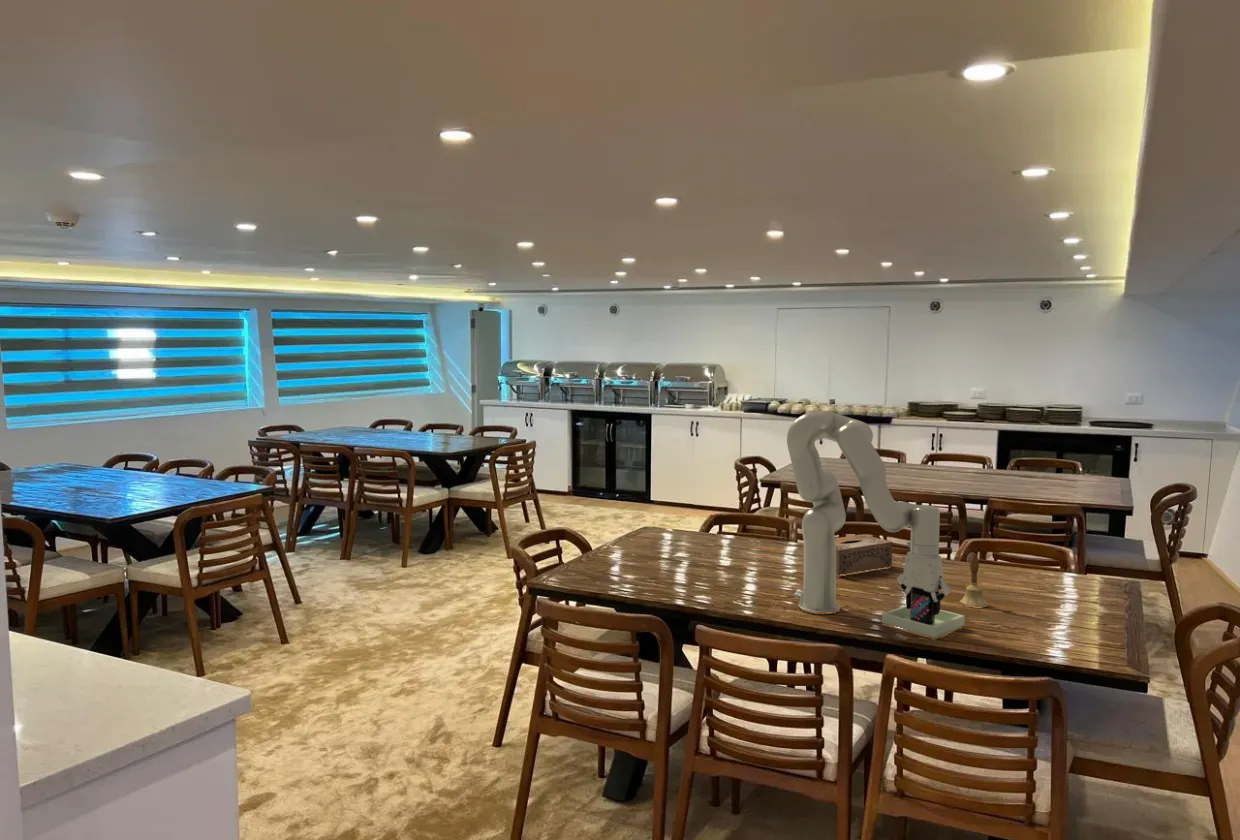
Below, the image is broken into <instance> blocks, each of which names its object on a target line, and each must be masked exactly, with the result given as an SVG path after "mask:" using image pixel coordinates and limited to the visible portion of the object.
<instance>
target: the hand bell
mask: <svg viewBox="0 0 1240 840" xmlns="http://www.w3.org/2000/svg"><path fill="white" fill-rule="evenodd" d="M979 562H980V561H979V558H978V555H977V553H972V554H971V557H970V559H969V569H970V574H971V575H970V576H971V580H970V585H967V586H966V588H965V593H964V596H963V598H961V600H959V602H961V603H963V604H965V605H969V606H974V607H986V606H988V607H989V604H988V602H987V601H986V600H985V598H984V595H983V588H982V587H981V586H979V585H978V571H979V566H980V563H979Z"/></svg>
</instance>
